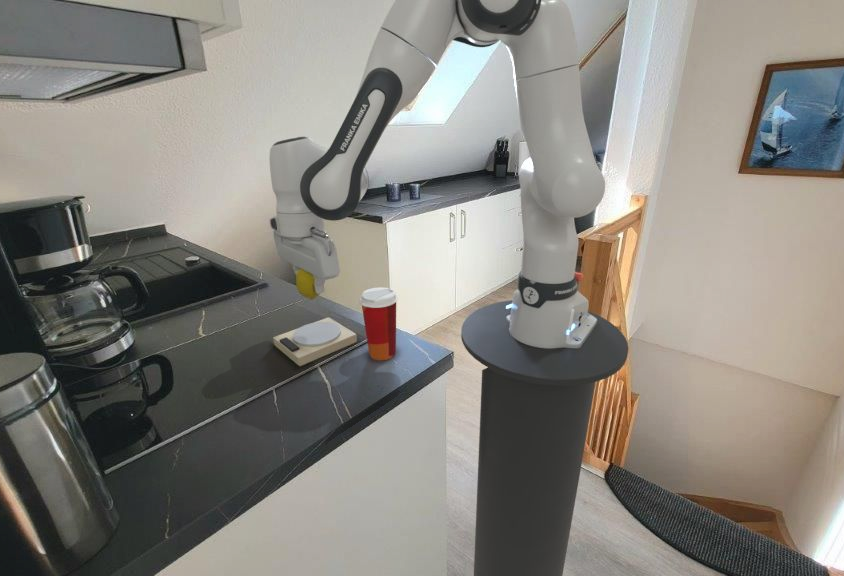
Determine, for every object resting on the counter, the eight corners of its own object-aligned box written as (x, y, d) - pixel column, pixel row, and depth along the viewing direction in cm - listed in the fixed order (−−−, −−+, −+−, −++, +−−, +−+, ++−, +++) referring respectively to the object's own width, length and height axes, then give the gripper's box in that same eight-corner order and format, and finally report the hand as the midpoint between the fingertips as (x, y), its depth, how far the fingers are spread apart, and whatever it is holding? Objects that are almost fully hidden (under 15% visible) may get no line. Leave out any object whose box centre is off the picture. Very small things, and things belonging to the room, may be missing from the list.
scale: (329, 324, 99) (328, 314, 98) (357, 341, 91) (356, 331, 90) (274, 345, 90) (272, 335, 89) (299, 366, 82) (297, 355, 81)
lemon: (330, 296, 89) (326, 261, 86) (316, 306, 84) (311, 270, 81) (308, 293, 90) (303, 259, 87) (293, 303, 85) (287, 267, 82)
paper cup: (389, 340, 91) (386, 283, 86) (407, 355, 86) (404, 295, 80) (357, 351, 87) (352, 292, 82) (374, 367, 82) (368, 305, 76)
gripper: (343, 230, 76) (350, 297, 81) (293, 213, 89) (301, 272, 95) (313, 236, 72) (322, 306, 77) (265, 218, 85) (275, 279, 91)
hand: (310, 287), depth 86 cm, fingers closed on lemon, 5 cm apart
